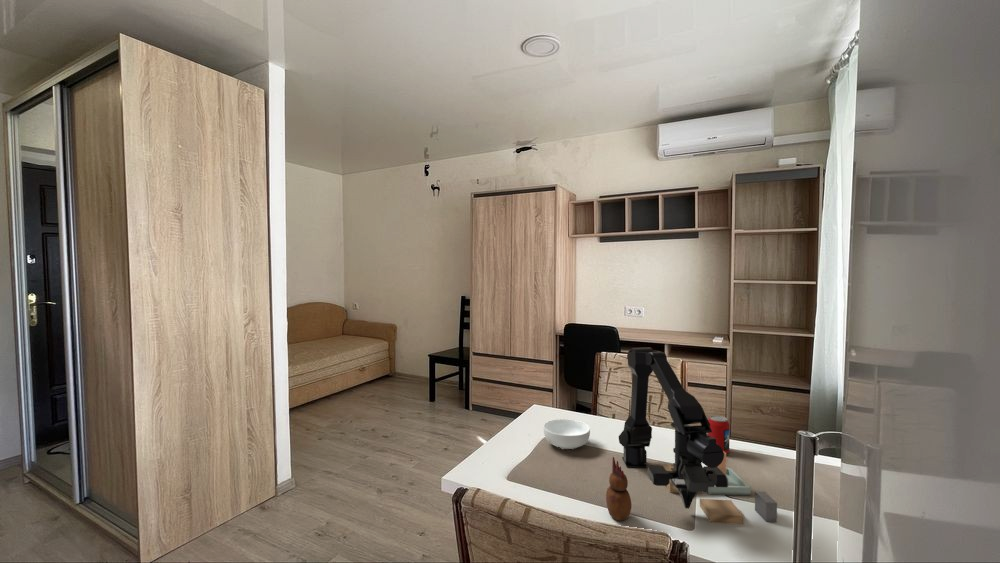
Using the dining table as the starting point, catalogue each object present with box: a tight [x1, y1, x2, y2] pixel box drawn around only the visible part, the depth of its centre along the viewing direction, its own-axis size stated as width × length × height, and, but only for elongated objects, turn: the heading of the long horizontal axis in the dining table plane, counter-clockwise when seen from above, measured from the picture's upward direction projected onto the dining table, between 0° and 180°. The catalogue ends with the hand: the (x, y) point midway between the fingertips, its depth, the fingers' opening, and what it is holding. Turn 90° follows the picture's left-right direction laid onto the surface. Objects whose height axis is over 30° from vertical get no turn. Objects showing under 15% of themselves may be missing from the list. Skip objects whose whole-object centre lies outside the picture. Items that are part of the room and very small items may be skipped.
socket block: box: [659, 463, 703, 494], centre depth 119 cm, size 9×9×4 cm
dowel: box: [717, 451, 727, 475], centre depth 120 cm, size 4×4×9 cm
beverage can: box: [707, 414, 730, 455], centre depth 141 cm, size 7×7×12 cm
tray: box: [706, 467, 752, 496], centre depth 120 cm, size 12×12×2 cm
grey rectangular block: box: [754, 491, 778, 523], centre depth 104 cm, size 3×5×5 cm, turn 176°
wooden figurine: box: [605, 456, 632, 522], centre depth 104 cm, size 7×6×15 cm
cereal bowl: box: [543, 418, 591, 450], centre depth 147 cm, size 17×17×7 cm
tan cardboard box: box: [699, 498, 745, 525], centre depth 105 cm, size 8×7×2 cm
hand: (686, 507), depth 105 cm, fingers closed
